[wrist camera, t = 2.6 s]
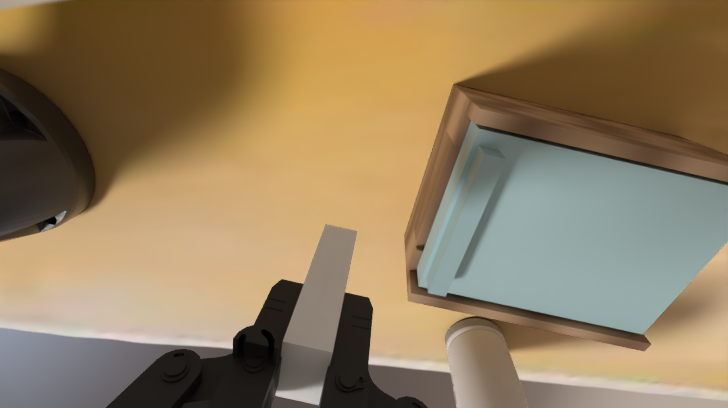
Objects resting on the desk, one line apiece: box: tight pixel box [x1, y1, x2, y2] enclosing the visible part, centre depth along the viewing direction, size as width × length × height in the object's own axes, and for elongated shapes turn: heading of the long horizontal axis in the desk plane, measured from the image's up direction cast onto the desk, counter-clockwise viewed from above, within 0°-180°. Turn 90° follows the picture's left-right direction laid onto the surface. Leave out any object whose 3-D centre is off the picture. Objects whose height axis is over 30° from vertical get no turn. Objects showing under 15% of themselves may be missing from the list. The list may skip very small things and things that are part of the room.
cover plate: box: [417, 120, 728, 334], centre depth 21 cm, size 17×12×4 cm
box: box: [404, 84, 728, 351], centre depth 24 cm, size 18×14×8 cm
